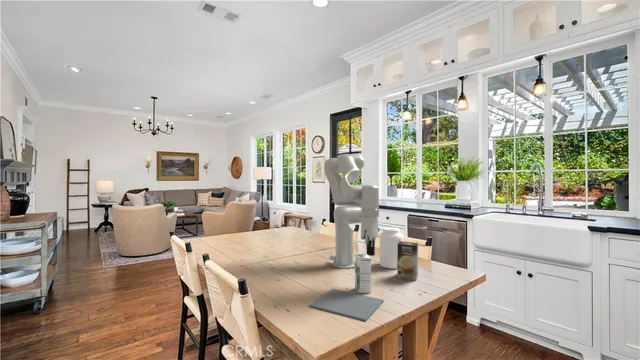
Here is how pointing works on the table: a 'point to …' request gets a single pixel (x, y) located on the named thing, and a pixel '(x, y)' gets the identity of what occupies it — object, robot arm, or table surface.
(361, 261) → the syrup box
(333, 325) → the table surface
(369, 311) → the mat
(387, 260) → the white bottle
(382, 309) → the table surface
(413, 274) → the coffee box
